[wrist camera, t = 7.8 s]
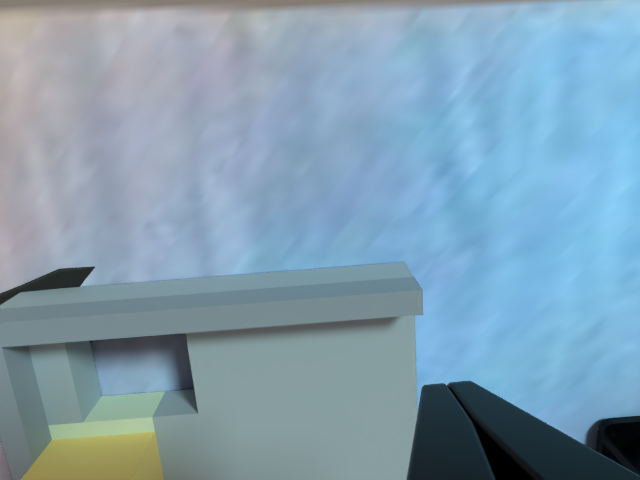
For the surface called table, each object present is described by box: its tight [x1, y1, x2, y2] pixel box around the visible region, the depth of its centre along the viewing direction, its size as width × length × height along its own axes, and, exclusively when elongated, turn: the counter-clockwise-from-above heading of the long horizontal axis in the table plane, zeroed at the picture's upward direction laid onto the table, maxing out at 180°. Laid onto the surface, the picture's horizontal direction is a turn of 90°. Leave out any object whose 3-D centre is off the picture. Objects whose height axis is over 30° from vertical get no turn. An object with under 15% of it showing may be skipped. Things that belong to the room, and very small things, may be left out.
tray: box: [0, 262, 423, 480], centre depth 22 cm, size 17×17×4 cm
